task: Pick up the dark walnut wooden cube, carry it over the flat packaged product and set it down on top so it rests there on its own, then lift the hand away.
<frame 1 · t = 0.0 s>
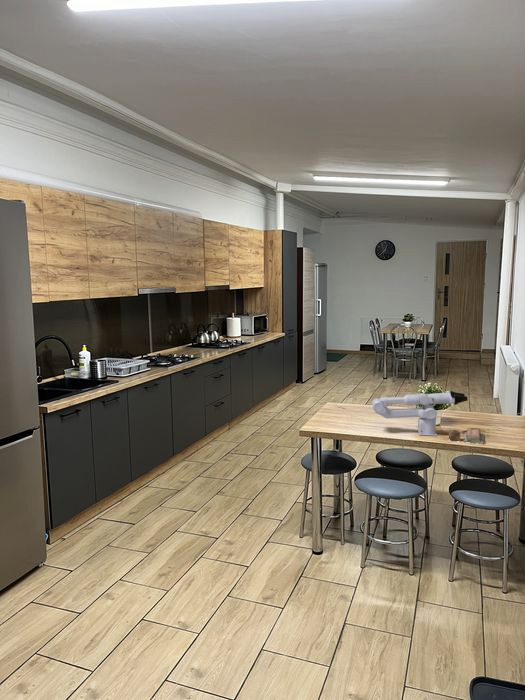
hand: (465, 397, 300), 22 cm above the table, tool horizontal, fingers open, 7 cm apart
packaged product: (473, 439, 297), on the table
walnut cube: (454, 440, 294), on the table
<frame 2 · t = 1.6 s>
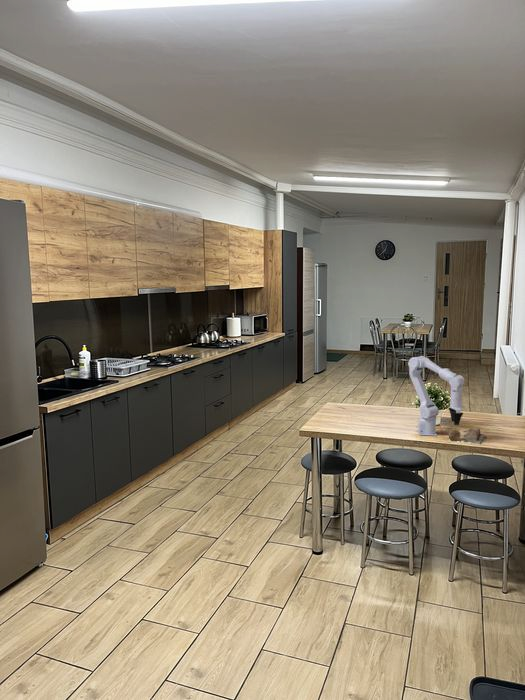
hand: (455, 423, 293), 9 cm above the table, tool pointing down, fingers open, 7 cm apart
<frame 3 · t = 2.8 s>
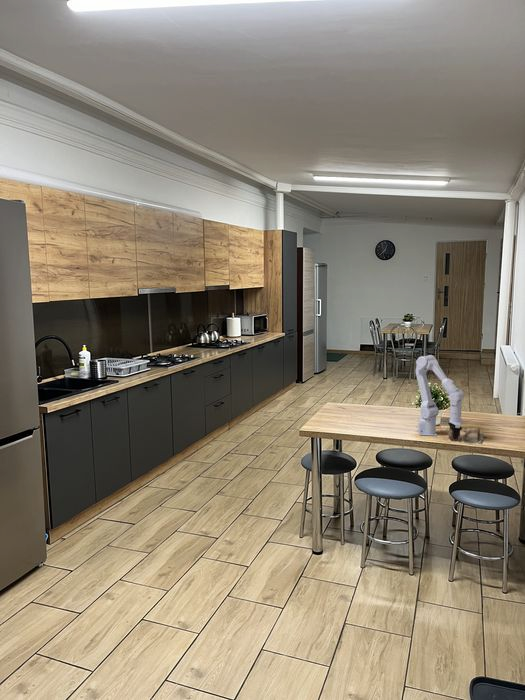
hand: (454, 437, 294), 1 cm above the table, tool pointing down, fingers closed on walnut cube, 5 cm apart
walnut cube: (454, 440, 294), on the table, touching gripper
everything else where it was.
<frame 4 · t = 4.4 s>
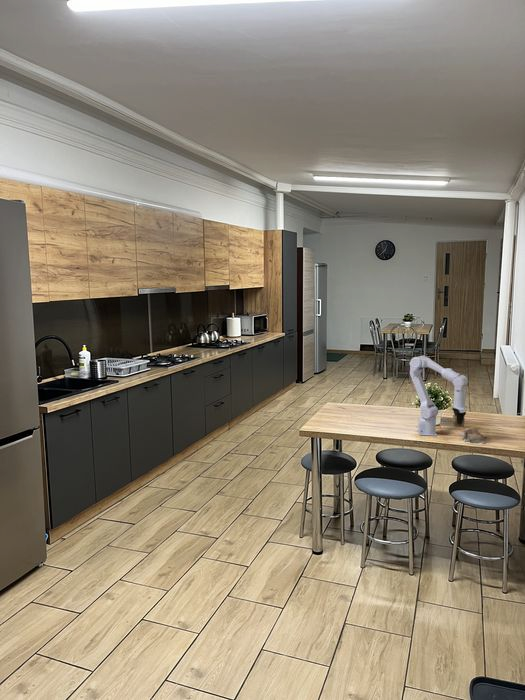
hand: (458, 422, 293), 9 cm above the table, tool pointing down, fingers closed on walnut cube, 5 cm apart
walnut cube: (458, 425, 294), point 8 cm above the table, touching gripper
when the fingers open (8 cm above the table, at t = 5.8 s): walnut cube drops 2 cm, resting on packaged product.
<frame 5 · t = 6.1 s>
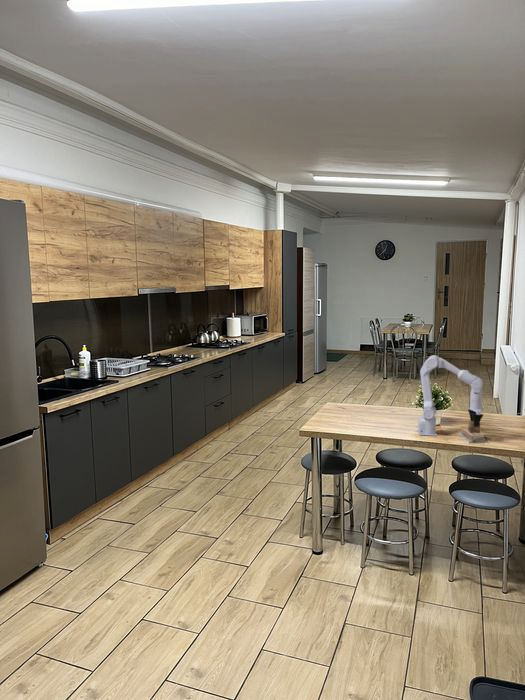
hand: (474, 424, 296), 8 cm above the table, tool pointing down, fingers open, 7 cm apart
packaged product: (472, 439, 297), on the table, touching walnut cube
walnut cube: (473, 431, 296), point 4 cm above the table, touching packaged product
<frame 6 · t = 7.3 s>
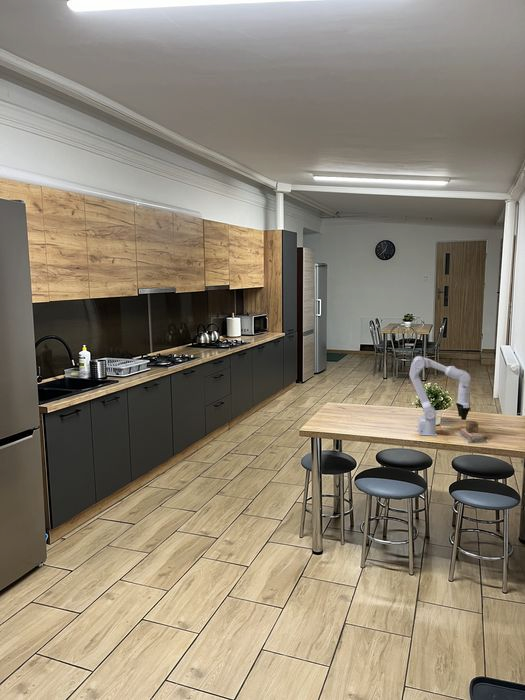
hand: (462, 417, 300), 10 cm above the table, tool pointing down, fingers open, 7 cm apart
walnut cube: (471, 431, 296), point 4 cm above the table, touching packaged product
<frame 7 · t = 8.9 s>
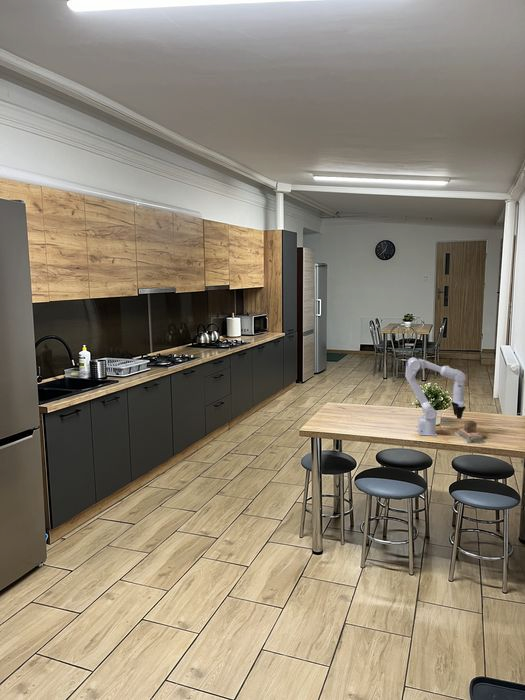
hand: (457, 416, 302), 10 cm above the table, tool pointing down, fingers open, 7 cm apart
packaged product: (469, 439, 298), on the table
walnut cube: (470, 430, 296), point 4 cm above the table
at the end: walnut cube inside the target area on the packaged product (0.3 cm from its centre), point 5.1 cm above the packaged product's base; walnut cube tilted 0°; the gripper is holding nothing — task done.
